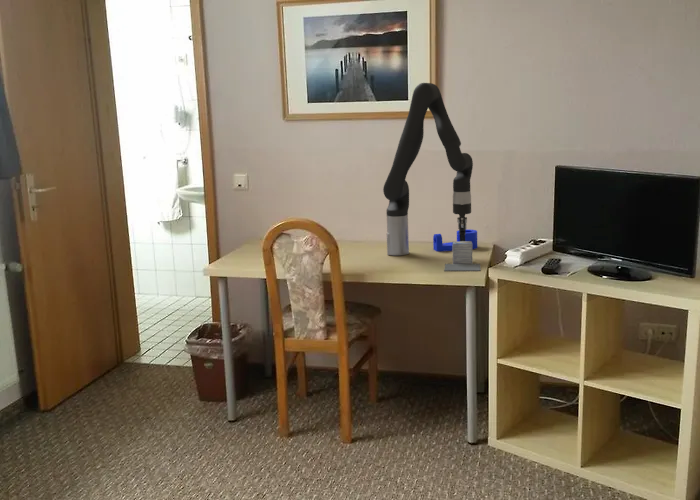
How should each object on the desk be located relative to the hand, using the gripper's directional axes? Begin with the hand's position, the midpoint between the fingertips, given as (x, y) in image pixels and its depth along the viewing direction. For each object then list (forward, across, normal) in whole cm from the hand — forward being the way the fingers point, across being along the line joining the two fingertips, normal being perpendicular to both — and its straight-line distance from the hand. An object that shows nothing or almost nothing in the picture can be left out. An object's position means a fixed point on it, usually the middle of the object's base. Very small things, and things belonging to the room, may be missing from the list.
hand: (462, 243), depth 299 cm
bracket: (+7, -19, -3) cm, 21 cm away
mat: (+6, +17, 0) cm, 18 cm away
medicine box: (+7, +9, 0) cm, 11 cm away
